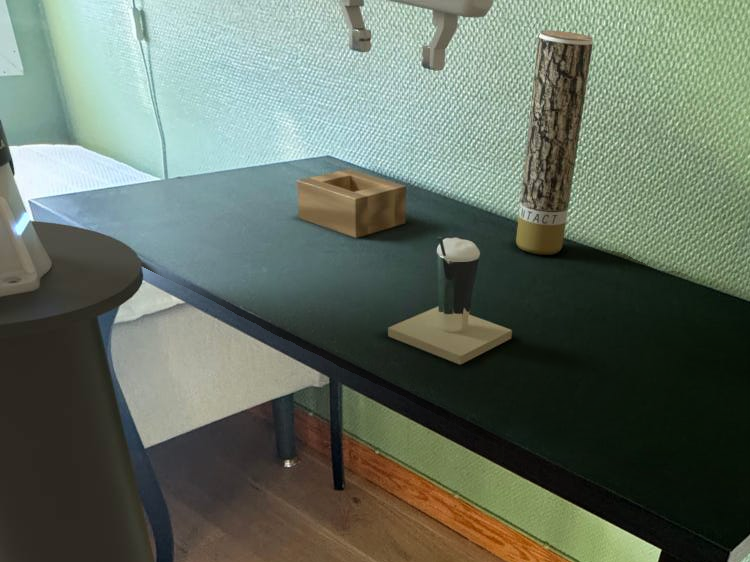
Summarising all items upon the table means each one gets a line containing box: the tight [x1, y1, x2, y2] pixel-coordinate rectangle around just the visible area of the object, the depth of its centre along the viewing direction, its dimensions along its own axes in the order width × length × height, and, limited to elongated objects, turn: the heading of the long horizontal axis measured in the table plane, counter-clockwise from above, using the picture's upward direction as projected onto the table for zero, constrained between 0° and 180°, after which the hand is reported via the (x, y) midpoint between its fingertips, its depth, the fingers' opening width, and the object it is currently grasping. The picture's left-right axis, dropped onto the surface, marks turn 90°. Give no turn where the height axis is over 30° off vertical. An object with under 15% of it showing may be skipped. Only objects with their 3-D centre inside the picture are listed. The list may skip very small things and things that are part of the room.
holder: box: [296, 168, 407, 239], centre depth 116 cm, size 11×11×5 cm
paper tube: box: [515, 29, 594, 256], centre depth 108 cm, size 7×7×25 cm
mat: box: [387, 305, 513, 366], centre depth 90 cm, size 10×10×1 cm
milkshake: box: [436, 236, 481, 333], centre depth 86 cm, size 5×5×10 cm
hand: (395, 60), depth 79 cm, fingers open, 8 cm apart
